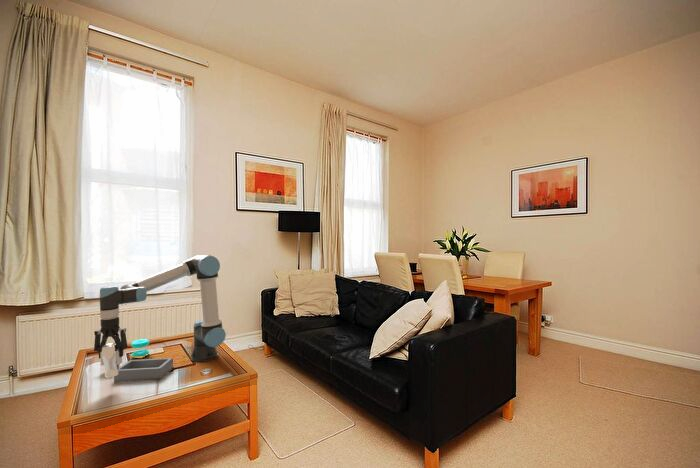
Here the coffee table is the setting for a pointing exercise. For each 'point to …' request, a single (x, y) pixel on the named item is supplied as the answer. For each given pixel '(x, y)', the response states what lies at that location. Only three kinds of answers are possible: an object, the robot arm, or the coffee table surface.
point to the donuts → (140, 344)
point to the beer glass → (110, 360)
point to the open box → (144, 370)
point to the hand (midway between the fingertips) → (111, 363)
